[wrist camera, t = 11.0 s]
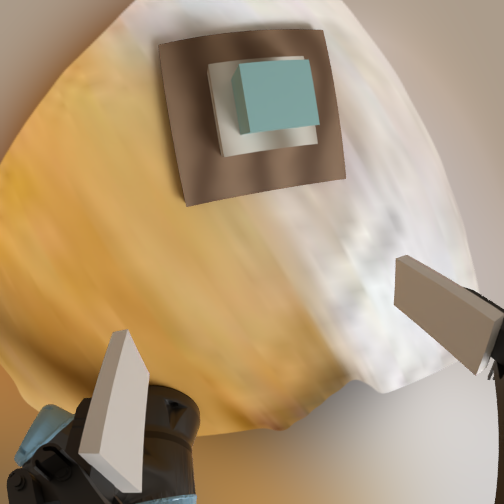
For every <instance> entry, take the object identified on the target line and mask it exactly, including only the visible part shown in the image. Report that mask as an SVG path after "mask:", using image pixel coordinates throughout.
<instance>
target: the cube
mask: <svg viewBox="0 0 504 504" xmlns="http://www.w3.org/2000/svg"><path fill="white" fill-rule="evenodd" d="M231 82H232V88H233V94H234V99H235V105H236V111H237V117H238V123H239V129H240V135H244V134H251V133H257V132H265V131H272V130H281V129H289V128H299V127H306V126H313V125H320V123H319V116H318V110H317V103H316V97H315V91H314V85H313V79H312V74H311V68H310V63H309V60H278V61H263V62H251V63H242V64H239V65H238V67H237V68H236V70H235V72H234V74H233V76H232V78H231Z"/></svg>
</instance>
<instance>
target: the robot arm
mask: <svg viewBox="0 0 504 504" xmlns="http://www.w3.org/2000/svg"><path fill="white" fill-rule="evenodd" d="M394 305H395V306H396V307H397V308H398V309H400V310H401V311H402V312H403V313H404V314H406V315H407V316H408V317H409V318H410V319H411V320H413V321H414V322H415V323H416V324H417V325H419V326H420V327H421V328H422V329H423V330H424V331H426V332H427V333H428V334H429V335H430V336H431V337H433V338H434V339H435V340H436V341H437V342H438V343H440V344H441V345H442V346H443V347H444V348H445V349H446V350H447V351H449V352H450V353H451V354H452V355H453V356H454V357H455V358H457V359H458V360H459V361H460V362H461V363H462V364H463V365H464V366H465V367H466V368H468V369H469V370H470V371H471V372H472V373H473V374H474V375H475V376H476V375H478V374H479V373H480V372H481V371H483V370H484V369H485V368H486V367H487V365H488V362H489V359H490V357H492V358H493V359H494V360H495V361H494V363H493V366H492V368H491V370H490V373H489V375H488V380H490V378H491V376H492V374H493V373H494V377H493V380H495V386H496V395H497V407H498V425H499V461H498V478H497V489H496V498H495V504H504V309H502V308H501V307H499V306H498V305H496V304H495V303H493V302H492V301H490V300H488V299H487V298H485V297H484V296H481V295H480V294H479V293H477V292H476V291H474V290H471V289H468V288H465V287H462V286H460V285H458V284H457V283H455V282H453V281H452V280H450V279H448V278H447V277H445V276H443V275H442V274H440V273H438V272H436V271H435V270H433V269H431V268H430V267H428V266H426V265H424V264H423V263H421V262H419V261H417V260H415V259H414V258H412V257H410V256H408V255H405V256H402V257H399V258H396V272H395V294H394ZM149 375H150V374H149V372H148V370H147V368H146V366H145V364H144V362H143V360H142V358H141V356H140V354H139V352H138V350H137V348H136V346H135V344H134V342H133V339H132V337H131V335H130V333H129V331H128V329H126V330H121V331H116V332H113V334H112V336H111V339H110V342H109V345H108V348H107V351H106V354H105V357H104V360H103V363H102V366H101V369H100V373H99V376H98V379H97V382H96V386H95V389H94V393H93V396H92V398H84V399H83V400H82V402H81V403H80V404H79V406H78V407H77V409H76V413H75V414H71V413H69V412H67V411H66V410H64V409H62V408H60V407H58V406H56V405H53V404H49V405H45V406H44V407H43V408H42V409H41V411H40V412H39V414H38V415H37V417H36V419H35V420H34V422H33V424H32V425H31V427H30V429H29V430H28V432H27V434H26V436H25V438H24V440H23V442H22V444H21V446H20V448H19V450H18V451H17V453H16V455H15V458H14V459H15V461H16V463H17V464H18V466H20V467H21V466H22V468H20V469H16V470H14V471H13V472H12V473H11V474H10V475H9V477H8V480H7V491H8V499H9V504H196V499H197V496H196V494H195V483H194V472H193V458H192V446H193V443H194V440H195V437H196V435H197V432H198V429H199V426H200V412H199V408H198V406H197V405H196V403H195V402H194V401H193V400H192V399H191V398H189V397H188V396H187V395H185V394H183V393H181V392H179V391H176V390H174V389H170V388H166V387H161V386H148V384H149Z"/></svg>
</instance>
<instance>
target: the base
mask: <svg viewBox="0 0 504 504" xmlns="http://www.w3.org/2000/svg"><path fill="white" fill-rule="evenodd" d="M158 47H159V55H160V62H161V69H162V76H163V83H164V89H165V96H166V102H167V108H168V114H169V120H170V126H171V131H172V137H173V142H174V148H175V153H176V158H177V164H178V169H179V174H180V179H181V184H182V188H183V193H184V198H185V203H186V207H189V206H193V205H198V204H203V203H208V202H212V201H217V200H222V199H227V198H232V197H238V196H243V195H248V194H253V193H259V192H264V191H270V190H276V189H282V188H288V187H294V186H300V185H306V184H312V183H319V182H326V181H332V180H340V179H346V172H345V162H344V152H343V143H342V135H341V127H340V120H339V113H338V106H337V100H336V94H335V88H334V82H333V76H332V71H331V66H330V60H329V56H328V51H327V46H326V41H325V37H324V32H323V30H302V29H283V30H257V31H243V32H233V33H224V34H216V35H208V36H202V37H196V38H190V39H184V40H179V41H174V42H169V43H165V44H160V45H158ZM278 60H309V63H310V68H311V74H312V79H313V85H314V91H315V97H316V103H317V110H318V116H319V123H320V125H313V126H306V127H299V128H289V129H281V130H272V131H265V132H257V133H251V134H244V135H240V129H239V123H238V117H237V111H236V105H235V99H234V94H233V88H232V82H231V78H232V76H233V74H234V72H235V70H236V68H237V67H238V65H239V64H242V63H251V62H263V61H278Z"/></svg>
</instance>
